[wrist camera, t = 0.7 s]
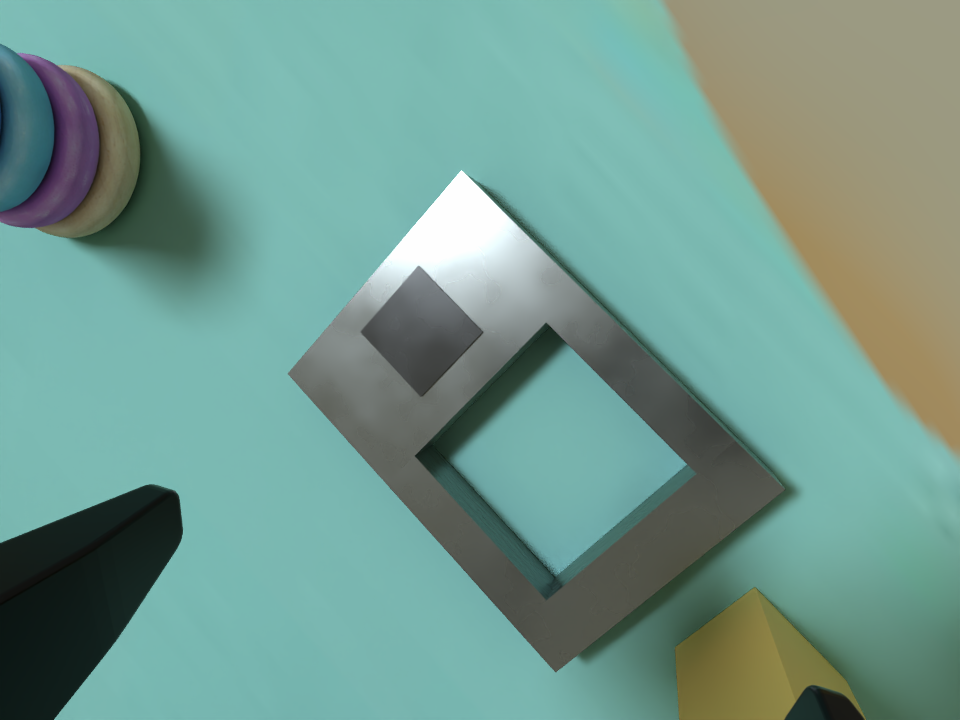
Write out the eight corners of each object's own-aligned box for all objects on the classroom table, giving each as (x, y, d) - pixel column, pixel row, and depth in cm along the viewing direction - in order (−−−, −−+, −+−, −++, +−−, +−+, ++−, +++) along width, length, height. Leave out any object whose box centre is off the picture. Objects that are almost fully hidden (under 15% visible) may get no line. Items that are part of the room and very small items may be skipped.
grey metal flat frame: (563, 644, 25) (555, 673, 23) (313, 369, 27) (286, 374, 25) (773, 473, 22) (785, 490, 20) (476, 181, 24) (460, 170, 22)
